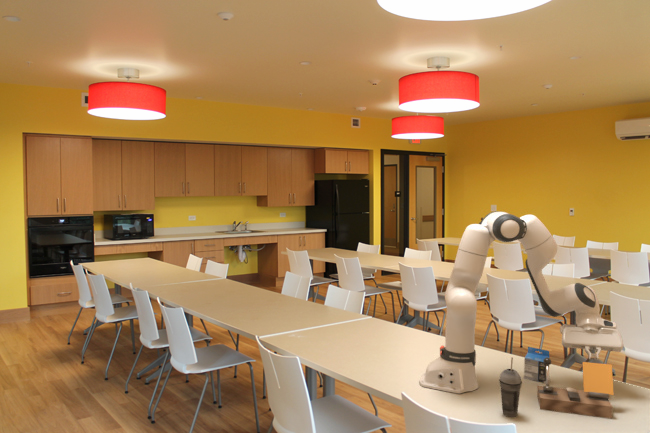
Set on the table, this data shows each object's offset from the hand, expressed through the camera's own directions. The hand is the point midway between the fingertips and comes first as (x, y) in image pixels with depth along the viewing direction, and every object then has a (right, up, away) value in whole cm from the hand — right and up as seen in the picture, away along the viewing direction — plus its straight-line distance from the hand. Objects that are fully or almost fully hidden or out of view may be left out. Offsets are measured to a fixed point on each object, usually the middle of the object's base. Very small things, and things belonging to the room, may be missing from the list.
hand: (593, 359), depth 179 cm
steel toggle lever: (-18, -10, -4) cm, 21 cm away
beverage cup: (-35, -15, -13) cm, 40 cm away
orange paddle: (-3, -10, -9) cm, 14 cm away
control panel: (-11, -15, -6) cm, 20 cm away
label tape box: (-12, -14, +20) cm, 27 cm away
